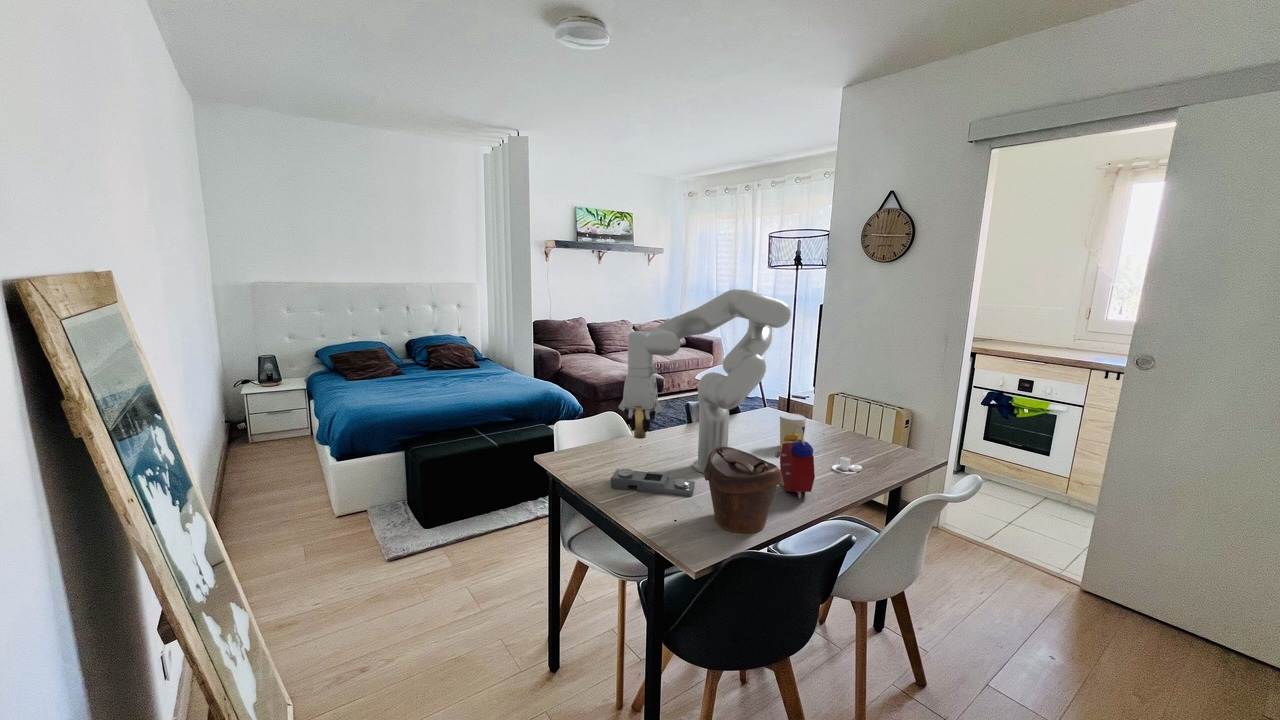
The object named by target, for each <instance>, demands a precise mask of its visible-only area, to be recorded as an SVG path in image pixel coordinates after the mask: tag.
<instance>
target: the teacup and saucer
mask: <svg viewBox="0 0 1280 720" xmlns="http://www.w3.org/2000/svg"><path fill="white" fill-rule="evenodd" d="M838 460H839V462H840V463H838ZM837 467H839V468H840V469H841V470H842V471H841V470H838V469H837ZM831 469H832V470H833V471H835V472H838V473H842V474H848V475H851V474H856V473H858V472H861V470H863V467H862V466H861V465H860V464H853V465H851V458H850V457H846V456H841V457H840V458H837V459H836V464H834V465H832V466H831ZM849 469H850V471H851V472H845V471H849Z"/></svg>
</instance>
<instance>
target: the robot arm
mask: <svg viewBox="0 0 1280 720" xmlns="http://www.w3.org/2000/svg"><path fill="white" fill-rule="evenodd" d="M791 313H792V311H791V309H790V307H789V305H788V304H787V303H786V302H785V301H782V300H780V299H777V298H775V297H774V298H773V297H771V296H767V295H764V294H760V293H757V292H754V291H752V290H748V289H735V288H734V289H729V290H727V291H725V292H723V293H721V294H720V295H718V296H716V297H714V298H713V299H710V300H708V301H707V302H706V303H703V304H702V305H700V306H698V307H696V308H694V309H692V310H688V311H686V312H684V313H681V314H680V315H676V316H674V317H672V318H669V319H668V320H666V321H664V322H662V323H660V324H659V325H657V326H655V327H653V328H652V329H651V330H650V331H647V330H646V331H645V330H635V331H630V332H629V333H628V335H627V375H625V379H624V385H623V397H622V400H621V401H620V403H619V405H618V409H619V410H621V411H623V413H625V415H626V416H627V418H628V419H629V428H630V431H631V432H634V409H642V410H645V414H646V419H645V420H644V432H646V433H647V432H648V431H649V430H650V429H651V427H652V425H651V421H652V417H653V416H655V415H656V414H659V413H660V412H661V411H662V410H663V408H662V406H661V404H660V402H659V399H658V386H657V385H658V384H657V378H656V376H655V374H658V369H657V368H654V366H653V365H654V364H653V362H654V361H653V360H654V359H653V357H654V356H661V357H669V356H674V355H676V354H677V353H678V352H679V350H680V348H681V340H682V339H685V338H687V337H691V336H699V335H705V334H709V333H711V332H713V331H714V330H716V329H718V328H720V327H721V326H723V325H725V324H727V323H728V322H730V321H732V320H734V319H735V318H742V319H746V320H747V321H748V328H747V331H746V333H745V334H744V336H743V337H742V338H741V339H740V340H739V341H738V343H737V344H736V345H735V346H734V347H733V348H732V349H731V350H730V351H729V352H728V354H726V356H725V357H724V359H723V361H722V369H723V371H724V372H725V373H726V375H724V374H722V373H719V372H715V371H714V372H712V371H711V372H708V373H706V374H704V375H703V376H701V378H700V380H698V381H699V382H698V384H697V385H698V386H697V395H698V398H697V399H698V404H699V406H698V407H699V415H698V417H699V418H698V419H699V420H698V446H697V447H698V449H697V459H695V460H694V461H693V464H692V468H693V469H694V470H695V471H697V472H699V473H702V474H704V469H705V467H706V464H707V461H708V457H709V455H710V453H711V452H712V451H713V450H714V449H715V448H717V447H722V446H725V447H729V427H730V426H729V425H730V410H732V409H735V408H737V407H738V406H739V405H740V404H742V403H743V402H744V401H745V400H746V399H747V397H748V396H749V395H750V394H751V392H753V390H754V389H755V388H756V387H757V386H758V385H759V384H760V382H762V380H763V378H764V376H765V374H766V370H767V363H766V361H765V359H764V358H763V356H764V355H765V353H766V352H767V350H768V349H769V348H770V346H771V343H772V339H773V329H774V328H775V329H779V328H782V327H784V326H786V325H787V324H789V321H790V319H791V315H792V314H791ZM635 404H641V406H642V408H638V407H635Z"/></svg>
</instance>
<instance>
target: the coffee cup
mask: <svg viewBox="0 0 1280 720" xmlns="http://www.w3.org/2000/svg"><path fill="white" fill-rule="evenodd" d="M806 423H807V418H806V417H805V416H804V415H802V414H797V413H782V414H781V415H780V416H779V440H780V441H779V444H780V445H779V446H780V449H782V445H783V444H785V443H793V441H784V438H785V436H786V435H788V434H792V433H793V431H794V428H795V426H800V428H801V430H802V432H803V439H804V438H805V432H806V431H805V430H806V425H807V424H806ZM795 434H799V435H801V436H802V433H801V431H800V429H799V427H796V432H795ZM804 440H805V439H804ZM795 442H798V441H795Z"/></svg>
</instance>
